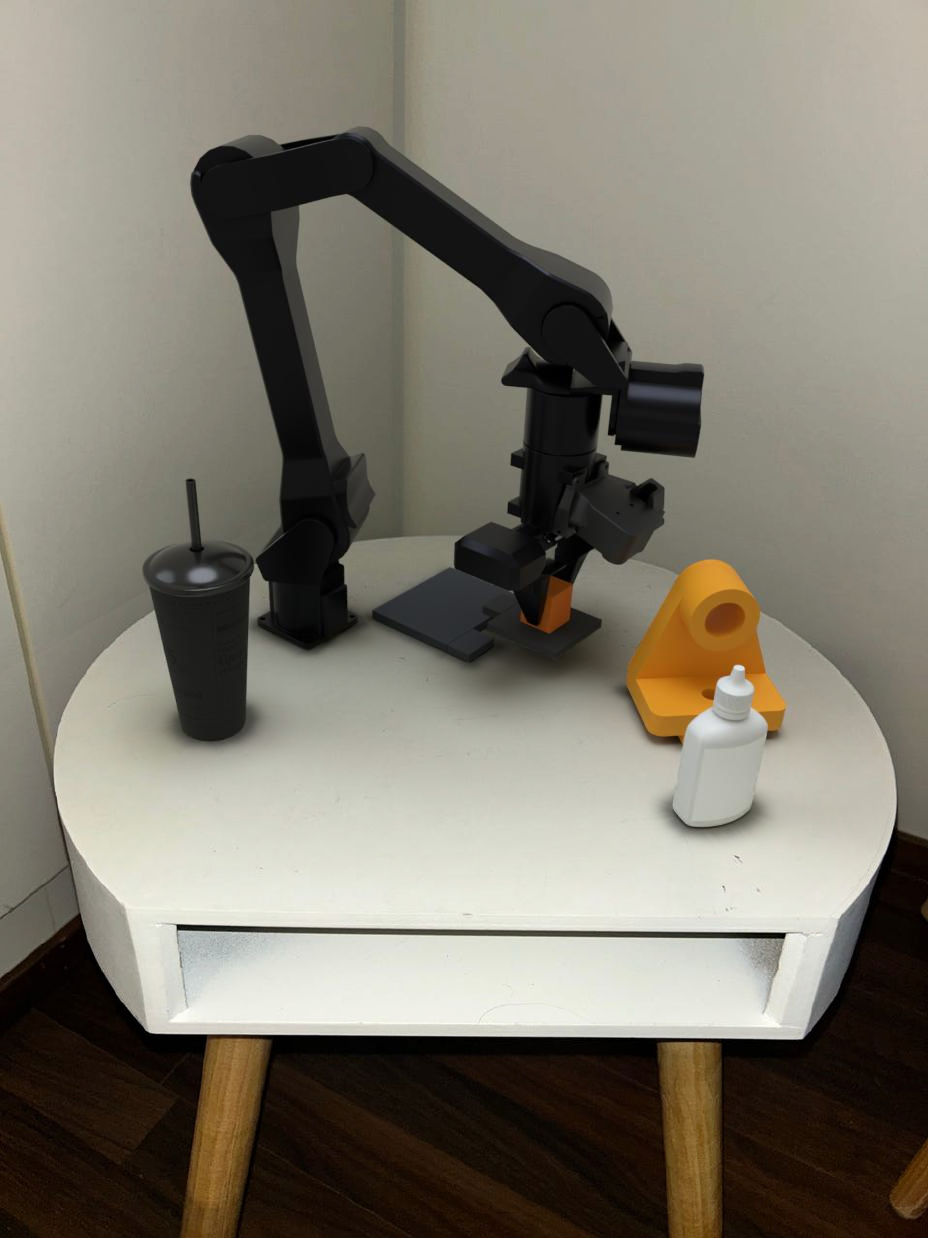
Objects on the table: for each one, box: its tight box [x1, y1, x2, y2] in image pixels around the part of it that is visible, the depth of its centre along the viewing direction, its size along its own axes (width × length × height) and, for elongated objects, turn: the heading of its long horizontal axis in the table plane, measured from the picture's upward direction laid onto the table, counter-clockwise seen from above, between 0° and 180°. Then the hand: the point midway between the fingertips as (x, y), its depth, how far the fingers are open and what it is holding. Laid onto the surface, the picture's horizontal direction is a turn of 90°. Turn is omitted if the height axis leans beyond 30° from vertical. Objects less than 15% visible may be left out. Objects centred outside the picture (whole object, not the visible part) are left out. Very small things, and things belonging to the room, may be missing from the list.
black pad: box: [482, 576, 603, 661], centre depth 93 cm, size 9×7×4 cm
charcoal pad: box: [371, 566, 516, 663], centre depth 99 cm, size 11×11×1 cm
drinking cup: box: [141, 477, 255, 742], centre depth 79 cm, size 8×8×20 cm
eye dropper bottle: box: [672, 665, 768, 828], centre depth 75 cm, size 4×6×12 cm
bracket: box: [625, 558, 787, 745], centre depth 85 cm, size 11×7×12 cm, turn 98°
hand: (544, 616), depth 93 cm, fingers closed on black pad, 3 cm apart
